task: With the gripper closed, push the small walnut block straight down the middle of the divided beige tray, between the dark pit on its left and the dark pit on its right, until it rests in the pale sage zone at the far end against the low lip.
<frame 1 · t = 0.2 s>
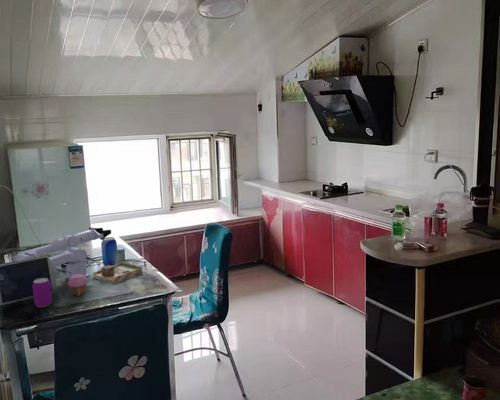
hand: (106, 230, 281), 21 cm above the table, tool horizontal, fingers open, 7 cm apart
cupcake: (78, 294, 245), on the table
beer can: (110, 265, 287), on the table
walnut block: (108, 275, 265), point 2 cm above the table, touching divided beige tray
beverage can: (43, 305, 233), on the table
divided beige tray: (117, 275, 270), on the table
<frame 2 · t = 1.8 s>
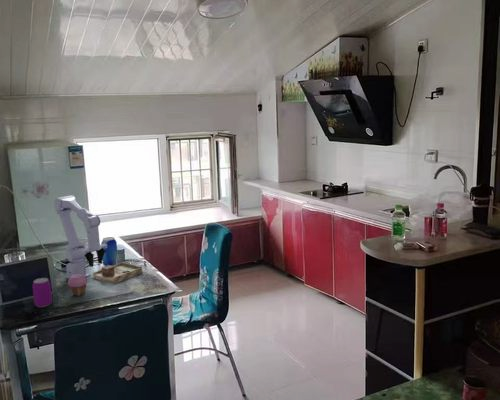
hand: (95, 264, 258), 10 cm above the table, tool pointing down, fingers open, 5 cm apart
nothing on the table moved.
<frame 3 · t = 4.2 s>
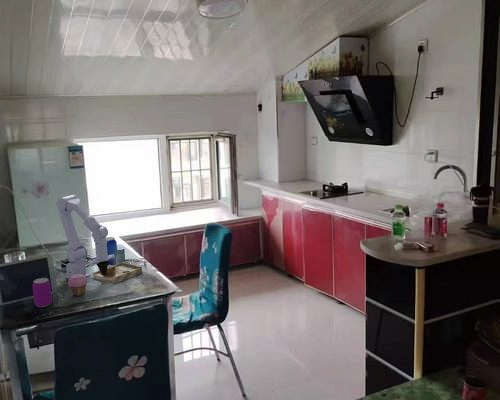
hand: (103, 275, 262), 3 cm above the table, tool pointing down, fingers closed
walnut block: (109, 274, 265), point 2 cm above the table, touching divided beige tray, gripper
everything else where it was.
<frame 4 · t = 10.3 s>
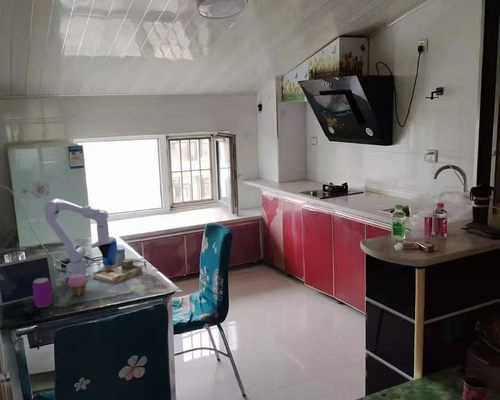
hand: (105, 257, 269), 10 cm above the table, tool pointing down, fingers closed
walnut block: (127, 268, 275), point 2 cm above the table, touching divided beige tray
everything else where it was.
at the end: walnut block inside the target area on the divided beige tray (0.1 cm from its centre), point 2.0 cm above the divided beige tray's base; walnut block tilted 0° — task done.
